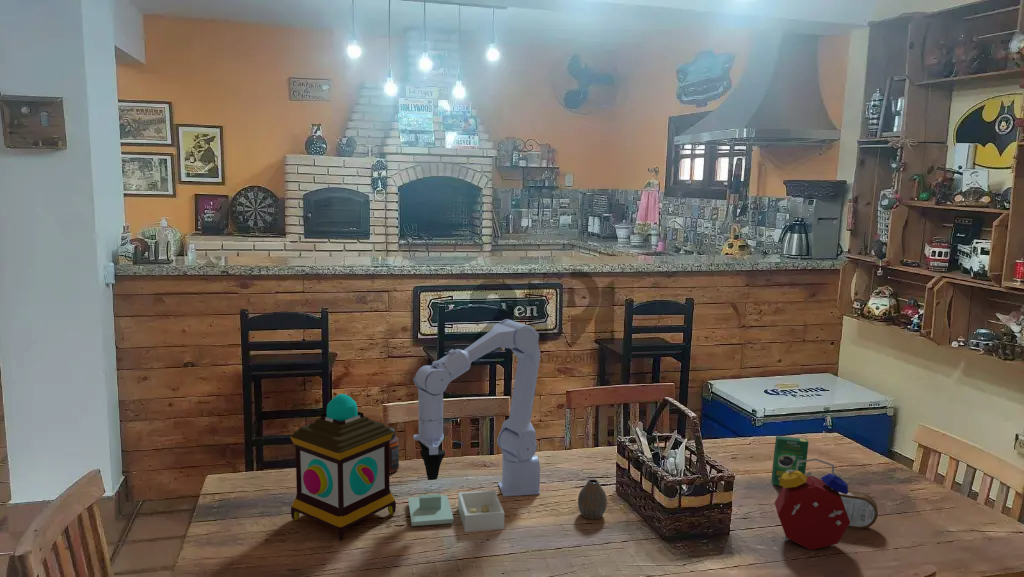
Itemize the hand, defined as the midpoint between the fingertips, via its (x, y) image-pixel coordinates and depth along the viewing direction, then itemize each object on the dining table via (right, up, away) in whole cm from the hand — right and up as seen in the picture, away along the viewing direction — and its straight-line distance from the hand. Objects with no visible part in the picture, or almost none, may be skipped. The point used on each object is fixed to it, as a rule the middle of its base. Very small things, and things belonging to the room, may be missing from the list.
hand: (430, 472), depth 170 cm
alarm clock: (+85, -14, -10) cm, 87 cm away
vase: (+38, -11, +2) cm, 40 cm away
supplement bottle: (-15, -6, +27) cm, 31 cm away
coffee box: (+93, -9, +21) cm, 95 cm away
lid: (0, -10, +1) cm, 10 cm away
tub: (+12, -11, 0) cm, 16 cm away
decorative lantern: (-20, -11, -1) cm, 23 cm away
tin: (+97, -13, 0) cm, 98 cm away
